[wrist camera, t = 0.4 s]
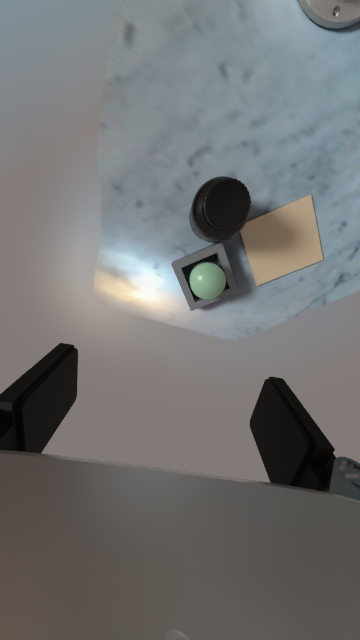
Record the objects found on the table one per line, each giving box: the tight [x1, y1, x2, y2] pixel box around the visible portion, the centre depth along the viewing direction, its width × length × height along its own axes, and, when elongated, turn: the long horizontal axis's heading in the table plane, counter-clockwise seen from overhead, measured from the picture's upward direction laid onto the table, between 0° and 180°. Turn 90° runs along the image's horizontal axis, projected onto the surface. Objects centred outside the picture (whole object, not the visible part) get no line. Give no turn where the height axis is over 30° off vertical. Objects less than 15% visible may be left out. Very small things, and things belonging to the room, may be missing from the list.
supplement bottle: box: [189, 176, 251, 241], centre depth 28 cm, size 7×7×12 cm
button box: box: [172, 242, 239, 311], centre depth 35 cm, size 8×8×3 cm
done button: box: [189, 261, 226, 299], centre depth 32 cm, size 5×5×3 cm
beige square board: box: [240, 195, 323, 286], centre depth 34 cm, size 11×10×1 cm
